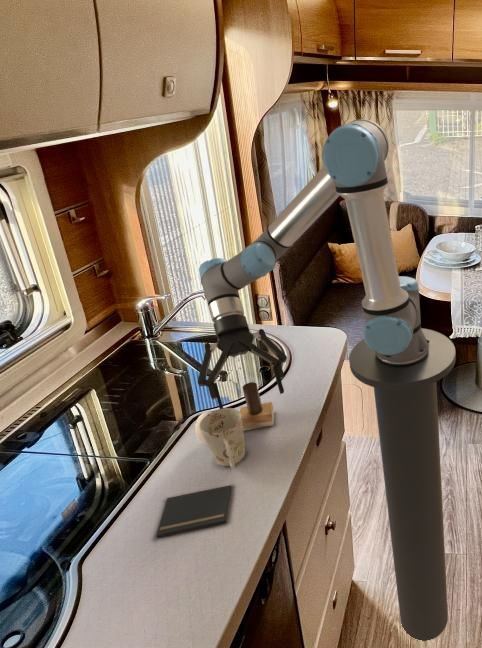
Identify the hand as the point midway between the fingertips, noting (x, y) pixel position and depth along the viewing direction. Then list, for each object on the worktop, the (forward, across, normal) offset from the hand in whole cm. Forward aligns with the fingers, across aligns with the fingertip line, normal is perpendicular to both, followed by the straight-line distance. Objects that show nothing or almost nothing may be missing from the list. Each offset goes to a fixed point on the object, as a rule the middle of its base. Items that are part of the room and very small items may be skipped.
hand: (253, 401), depth 116 cm
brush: (+4, 0, -5) cm, 7 cm away
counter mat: (+19, +16, +10) cm, 27 cm away
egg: (+5, +10, -4) cm, 12 cm away
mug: (+12, +7, +2) cm, 14 cm away
